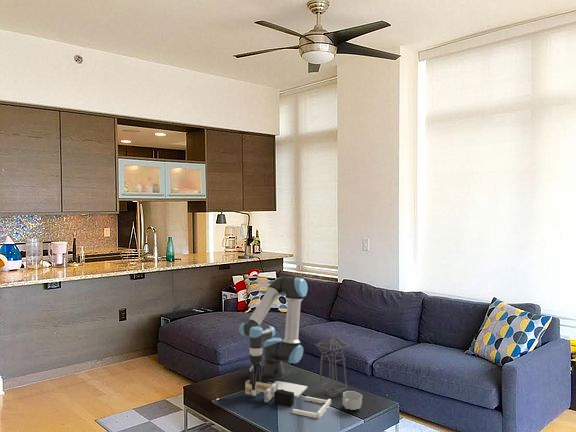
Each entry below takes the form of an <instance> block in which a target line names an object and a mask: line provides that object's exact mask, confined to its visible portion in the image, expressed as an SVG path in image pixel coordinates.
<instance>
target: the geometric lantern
mask: <svg viewBox="0 0 576 432" xmlns="http://www.w3.org/2000/svg"><path fill="white" fill-rule="evenodd" d="M315 346H316V348H317V349H318V350H319V351H320V352H321V355H320V366H319V368H320V371H319V374H320V375H319V388H321V389H322V390H323V391H324V392H325V393H326V392H327V394H328V393H329V394H331V395H333V397H334V396H335V397H336V394H340V393H344V392H345V390H347V389H348V387H347V373H346V372H347V370H346V357H345V356H344V351H345V350H346V349H348V348H349V347H350V346H351V344H349V343H347V342H346V341H345V340H342V339H341V338H339V337H337V336H336V335H330V336H329V337H327V338H325V339H322V340H321V341H319V342H317V343H316V344H315ZM342 346H343V347H342ZM332 347H333V348H332ZM325 350H326V351H325ZM340 350H341V351H340ZM332 351H333V352H334V353H333V352H332ZM328 352H329V353H330V354H328ZM324 354H325V355H324ZM339 354H341V355H339ZM329 356H331V359H330V357H329ZM337 356H338V357H340V358H341V359H337ZM325 357H326V358H327V359H326V358H325ZM323 360H325V361H327V362H328V363H329V365H328V366H329V371H328V372H329V376H328V377H329V381H328V382H325V383H322V375H323V374H322V372H323ZM339 361H342V363H343V372H344V384H343V383H341V382H339V381H338V380H337V379H338V378H337V372H335V371H337V362H339ZM334 365H335V366H334ZM334 367H335V370H334ZM331 379H332V380H331ZM327 384H329V385H328V386H329V388H325V387H323V386H325V385H327ZM337 384H339V385H342V386H343V387H342V388H338V387H336V385H337ZM331 390H334V391H331ZM335 390H336V391H338V392H336V391H335ZM328 391H329V392H328ZM339 392H340V393H339Z"/></svg>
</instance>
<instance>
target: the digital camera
mask: <svg viewBox="0 0 576 432" xmlns="http://www.w3.org/2000/svg"><path fill="white" fill-rule="evenodd" d="M273 399H274V401H273V402H274V405H279V406H283V407H286V408H287V407H288V408H292V407H293V406H294V404H295V397H294V392H289V391H285V390H283V389H281V390H279V389H277V390H276V391H275V392H274V397H273Z"/></svg>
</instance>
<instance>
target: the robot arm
mask: <svg viewBox="0 0 576 432" xmlns="http://www.w3.org/2000/svg"><path fill="white" fill-rule="evenodd" d="M308 287H309V286H308V283H307V281H306V280H305V279H304V278H301V277H295V276H285V275H283V276H280V277H278V278H275V280H273V281H272V282H271V283H270V284H269V285H268V286H267V288H266V292H265V294H264V295H263V297H262V299H261V300H260V302H259V303H258V305H257V306H256V308H255V309H254V310H253V312H252V313H251V315H250V317H249V319H248V320H247V321H246V322H242V323H241V324H240V325H239V328H238V329H239V330H238V331H239V334H240V335H242V336H244V337H249V347H248V350H249V355H248V356H249V359H248V360H249V361H250V362H251V364H250V367H248V375H249V379H248V380H250V384H251V385H252V393H251V395H252V396H255V397H256V396H257V394H260V391H257V384H256V382H261V383H262V378H263V377H265V378H271V379H275V378H279V377H280V378H281V377H283V376H284V375H285V370H284V366H283V363H282V362H286V363H289V364H297V363H300V361H301V359H302V358H303V354H304V347H303V346H302V344H301V341H300V339H299V334H300V333H299V331H300V330H299V329H300V319H301V318H300V316H301V307H302V306H301V305H302V304H301V303H302V301H303V300H304V297H306V296H307V293H308V291H309V290H308V289H309V288H308ZM281 295H285V299H286V300H287V304H286V305H287V306H286V318H285V330H284V331H285V332H284V338H283V339H282V338H281V337H275V336H276V329H275V327H274V326H273V325H266V326H263V325H261V323H262V322H263V321H264V319H265V317H266V315H267V314H268V312H269V311H270V309H271V308H272V306H273V304H274V303H275V301H276V300H277V299H278V298H280V296H281ZM262 361H263V362H262Z"/></svg>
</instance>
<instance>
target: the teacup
mask: <svg viewBox="0 0 576 432" xmlns="http://www.w3.org/2000/svg"><path fill="white" fill-rule="evenodd" d="M362 403H363V394H361V393H359V392H357V391H355V390H354V391H353V390H346V391H343V395H342V406H343V407H344V408H345V409H346V410H347V409H350V410H356V409H358V410H359V409H361V407H362ZM356 411H357V410H356Z"/></svg>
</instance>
